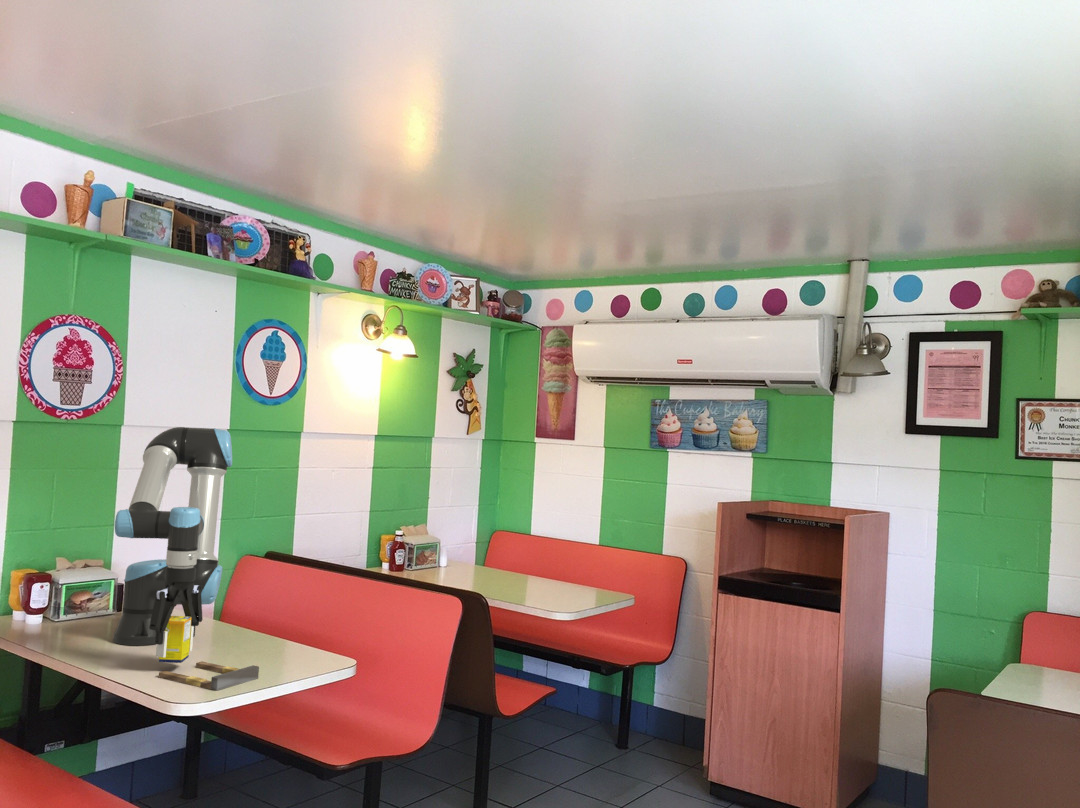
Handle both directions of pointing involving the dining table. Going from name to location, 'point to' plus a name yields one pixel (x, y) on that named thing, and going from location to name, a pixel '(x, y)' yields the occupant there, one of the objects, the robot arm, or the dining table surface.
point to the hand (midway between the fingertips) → (174, 653)
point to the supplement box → (177, 639)
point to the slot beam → (218, 682)
